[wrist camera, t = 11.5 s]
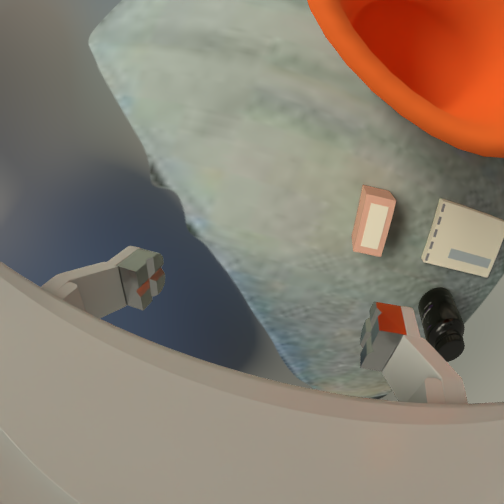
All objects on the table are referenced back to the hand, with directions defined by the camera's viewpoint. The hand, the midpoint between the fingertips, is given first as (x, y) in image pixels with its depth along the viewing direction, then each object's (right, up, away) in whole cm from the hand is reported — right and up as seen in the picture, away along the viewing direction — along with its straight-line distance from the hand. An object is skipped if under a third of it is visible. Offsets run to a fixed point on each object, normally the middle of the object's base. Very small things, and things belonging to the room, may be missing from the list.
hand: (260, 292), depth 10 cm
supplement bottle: (+32, -7, +30) cm, 44 cm away
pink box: (+17, +7, +27) cm, 33 cm away
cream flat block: (+33, +4, +24) cm, 41 cm away
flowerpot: (+21, +28, +15) cm, 38 cm away
